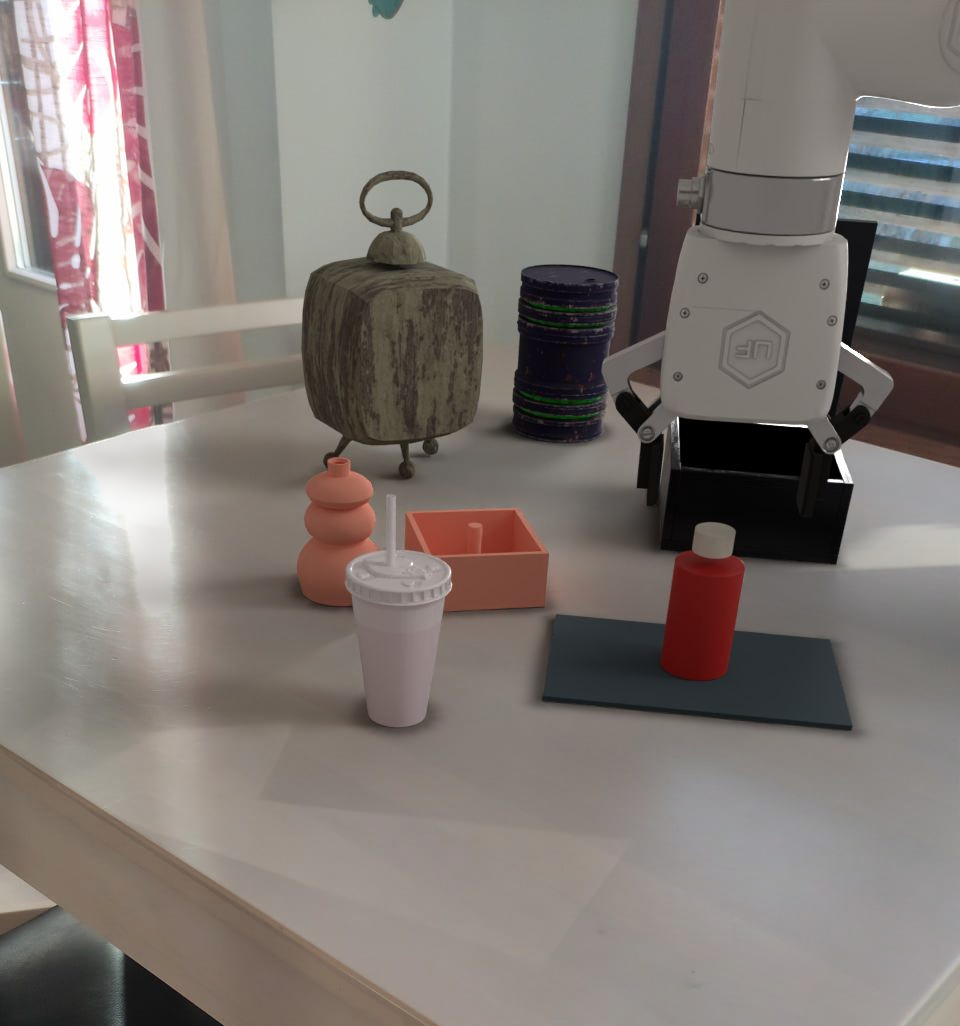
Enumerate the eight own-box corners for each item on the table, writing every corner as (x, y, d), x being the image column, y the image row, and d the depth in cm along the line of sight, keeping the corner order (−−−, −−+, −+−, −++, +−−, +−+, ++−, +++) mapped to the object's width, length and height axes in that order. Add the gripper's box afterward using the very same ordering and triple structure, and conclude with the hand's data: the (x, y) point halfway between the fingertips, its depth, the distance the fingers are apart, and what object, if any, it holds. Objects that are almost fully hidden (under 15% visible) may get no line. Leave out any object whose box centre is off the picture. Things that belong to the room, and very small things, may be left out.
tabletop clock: (437, 448, 124) (445, 162, 110) (487, 475, 118) (502, 176, 104) (305, 467, 118) (295, 165, 103) (350, 498, 112) (346, 182, 97)
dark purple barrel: (490, 424, 132) (498, 269, 123) (556, 409, 138) (568, 260, 129) (558, 448, 126) (572, 288, 118) (624, 432, 132) (641, 278, 123)
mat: (829, 644, 92) (830, 639, 91) (851, 731, 81) (852, 725, 81) (555, 618, 93) (555, 613, 93) (542, 701, 82) (542, 695, 82)
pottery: (514, 558, 102) (522, 436, 96) (544, 606, 95) (555, 477, 89) (291, 567, 98) (286, 440, 93) (304, 618, 91) (299, 484, 85)
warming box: (836, 564, 104) (854, 484, 100) (659, 549, 105) (670, 468, 101) (817, 501, 117) (832, 427, 113) (659, 487, 118) (669, 414, 114)
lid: (878, 223, 102) (876, 220, 102) (697, 210, 103) (697, 208, 103) (833, 423, 112) (833, 420, 113) (670, 410, 113) (670, 407, 114)
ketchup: (725, 654, 88) (749, 519, 83) (728, 684, 85) (753, 545, 79) (660, 648, 89) (679, 513, 83) (660, 677, 85) (680, 539, 79)
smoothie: (378, 680, 84) (379, 471, 75) (464, 704, 81) (474, 492, 73) (327, 721, 79) (321, 502, 71) (417, 748, 77) (422, 525, 69)
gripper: (612, 209, 68) (589, 517, 78) (939, 224, 67) (873, 535, 76) (616, 189, 74) (594, 477, 84) (916, 203, 73) (857, 493, 83)
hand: (727, 504), depth 80 cm, fingers open, 9 cm apart
